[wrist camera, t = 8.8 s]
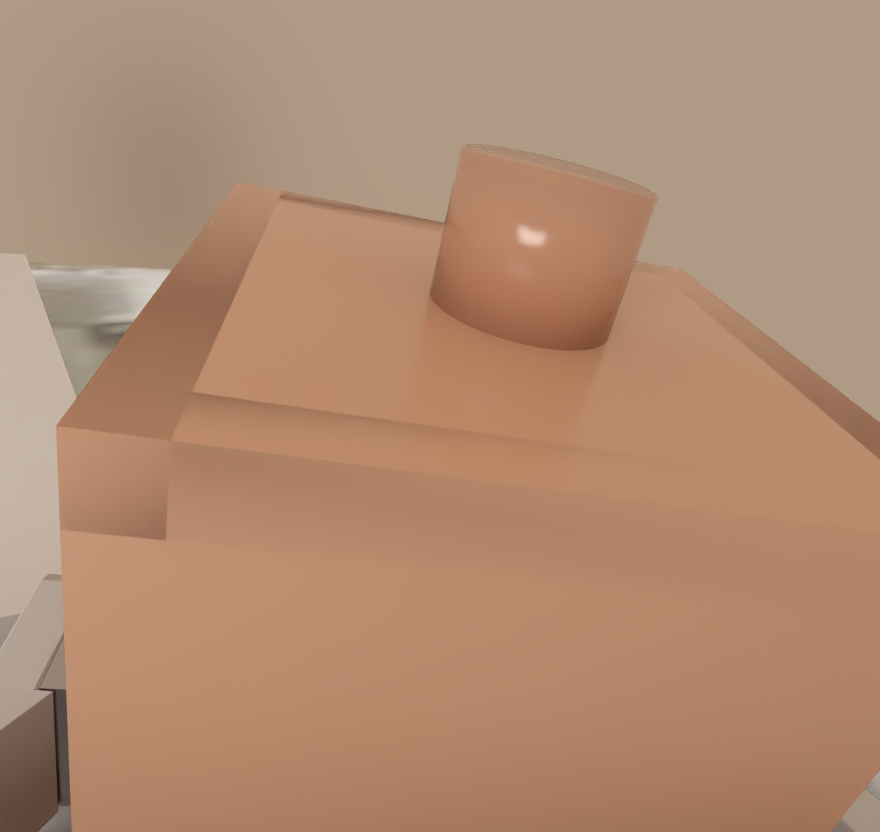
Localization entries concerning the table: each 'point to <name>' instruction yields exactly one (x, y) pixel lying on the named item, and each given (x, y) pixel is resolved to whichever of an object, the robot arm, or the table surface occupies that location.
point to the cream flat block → (27, 439)
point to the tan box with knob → (463, 534)
